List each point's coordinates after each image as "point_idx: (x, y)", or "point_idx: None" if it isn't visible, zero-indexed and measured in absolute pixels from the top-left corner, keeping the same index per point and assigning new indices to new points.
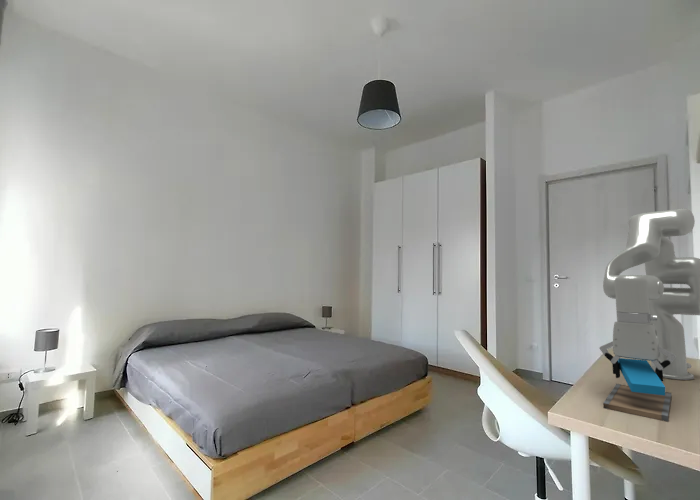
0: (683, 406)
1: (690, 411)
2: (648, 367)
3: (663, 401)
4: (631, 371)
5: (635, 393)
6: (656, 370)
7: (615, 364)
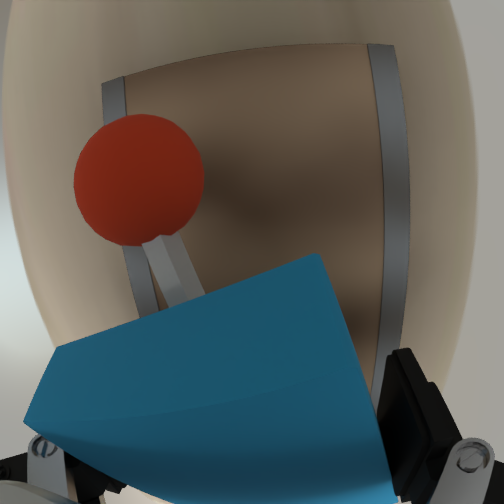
0: (444, 207)
1: (460, 274)
2: (353, 470)
3: (379, 290)
4: None
5: (233, 229)
6: (402, 498)
7: (111, 489)
